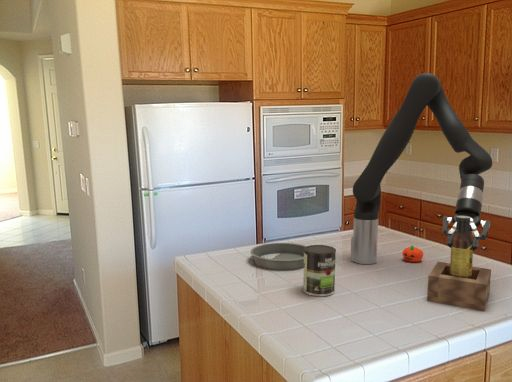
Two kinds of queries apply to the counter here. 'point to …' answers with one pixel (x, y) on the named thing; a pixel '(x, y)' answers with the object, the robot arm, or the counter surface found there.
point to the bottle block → (459, 287)
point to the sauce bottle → (462, 249)
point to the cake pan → (279, 256)
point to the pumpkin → (412, 254)
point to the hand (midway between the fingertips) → (461, 247)
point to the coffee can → (319, 270)
